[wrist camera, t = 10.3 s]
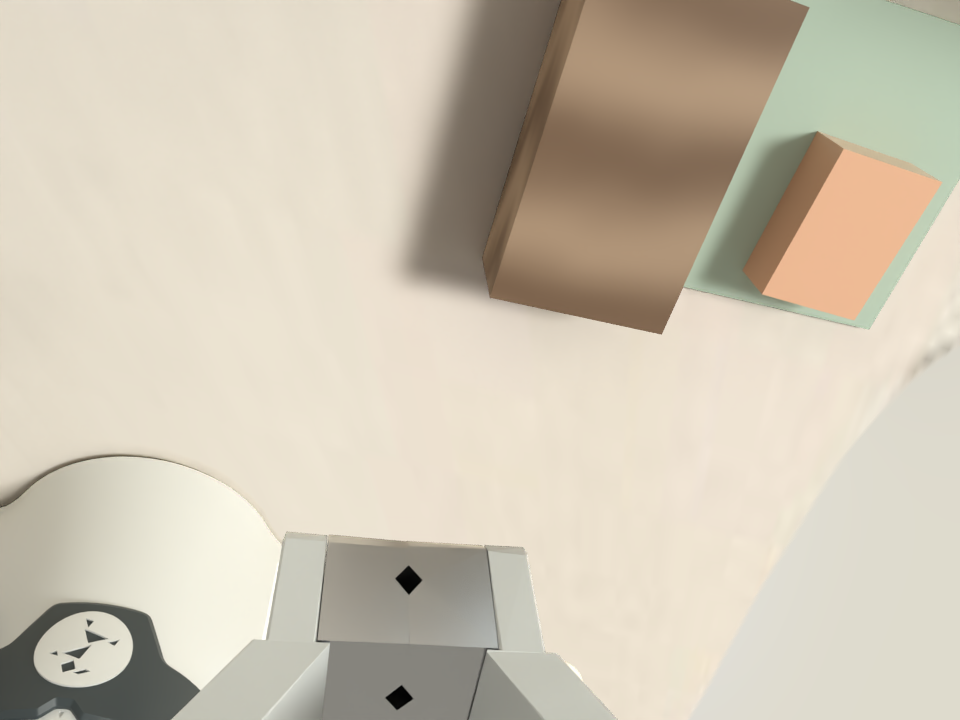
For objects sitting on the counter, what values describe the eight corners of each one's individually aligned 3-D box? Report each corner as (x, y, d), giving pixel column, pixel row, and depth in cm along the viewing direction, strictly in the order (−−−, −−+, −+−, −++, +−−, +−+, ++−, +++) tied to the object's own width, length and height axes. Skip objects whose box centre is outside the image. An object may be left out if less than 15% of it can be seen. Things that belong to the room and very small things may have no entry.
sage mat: (865, 325, 42) (869, 329, 41) (661, 278, 39) (663, 282, 39) (1030, 48, 35) (1036, 50, 34) (795, -30, 32) (799, -29, 32)
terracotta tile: (762, 294, 37) (742, 270, 39) (854, 320, 38) (830, 295, 40) (843, 148, 33) (817, 131, 35) (942, 182, 34) (911, 163, 37)
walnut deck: (639, 293, 39) (661, 334, 36) (482, 257, 38) (490, 297, 34) (767, -9, 33) (809, 7, 29) (582, -69, 31) (604, -59, 28)
